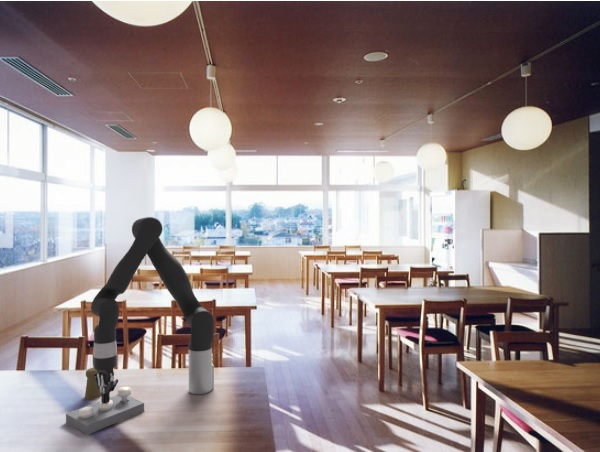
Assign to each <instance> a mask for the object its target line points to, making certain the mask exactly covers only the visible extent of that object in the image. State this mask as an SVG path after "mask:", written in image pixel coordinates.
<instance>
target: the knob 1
mask: <svg viewBox="0 0 600 452" xmlns="http://www.w3.org/2000/svg"><path fill="white" fill-rule="evenodd" d="M84 407H85V408H83V407H81V408H82V409H80V408H79V409H80V410H79V418H82V419H85V418H89V417H92V416H93V415H94V408H93V407H86V406H84Z"/></svg>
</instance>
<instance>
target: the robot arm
mask: <svg viewBox="0 0 600 452" xmlns="http://www.w3.org/2000/svg"><path fill="white" fill-rule="evenodd" d="M131 233H132V236H133V238H134V241H133V242H132V244H131V246H130V247H129V249H128V251H126V253H125V254H124V255H123V257H122V258H121V259H120V260H119V262H118V263H117V264H116V266H115V267H114V269H113V271H112V272H111V275H110V277H109V278H108V280H107V282H106V283H105V285H103V287H102V288H101V289H100V290H99V291H98V293H96V295H95V296H94V297H93V300H91V301H92V302H91V305H90V310H91V313H92V314H93V315H95V316H96V317H98V324H97V325H96V326H95V327H94V330H93V350H92V351H93V353H92V355H93V367H92V368H94V369H95V370H97V372H96V373H94V374H93V377H94V380H95V383H96V386H97V388H98V390H99V389H100V392H101V397H100V399H101V400H100V401H101V402H102V403H104V404H105V403H108V402H109V401H110V398H111V397H110V393H111V392H113V391H114V390H115V389H116V387H117V384H118V383H119V379H118V378H115V377H114V376H115V372H114V368H115V367H117V365H118V350H117V349H118V346H117V331H116V330H117V324H118V321H119V316H120V305H119V303H118V301H117V300H116V299H117V297H119V296H120V295H122V294H124V293H125V292H126V291H127V289H128V287H129V285H130V283H131V281H132V280H133V278H134V276H135V274H136V272H137V271H138V268H139V266H141V264H142V261H143V260H145V258H146V256H147V257H148V258H149V260H150V262H151V264H152V265H153V267H154V269H155V271H156V272H157V274H158V276H159V279H160V280H161V281H162V283H163V285H164V286H165V288H166V289H167V291H168V293H169V294H170V295H171V296H172V298H173V299H174V301H176V303H177V304H178V306H179V308H180V311H181V313H182V315H183V317H184V319H185V321H186V324H187V326H188V327H189V328H190V340H189V341H188V392H189V394H193V395H204V394H208V393H210V392H211V391H212V390H213V389H214V388H215V365H214V364H213V342H214V339H215V337H214V335H215V334H214V333H215V332H214V331H215V320H214V316H213V314H212V313H211V312H210V311H209V310H207V309H205V307H203V306H202V304H201V303H200V302H199V300H198V299H197V297H196V296H195V294H194V292H193V287H192V285H191V281H190V278H189V276H188V274H187V272H186V270H185V269H184V267H183V265H182V264H181V263H180V261H179V260H178V259H177V258H176V257H175V256H174V255H173V254H172V253H171V252H170V251H169V250H168V249H167V248H166V247H165V245H164V243H163V242H162V240H161V238H160V237H161V235H162V233H163V225H162V222H161V221H160V219H158V218H157V217H154V216H146V217H142V218H138V219H136V220H135V221H134V222H133V223H132V226H131Z"/></svg>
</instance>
